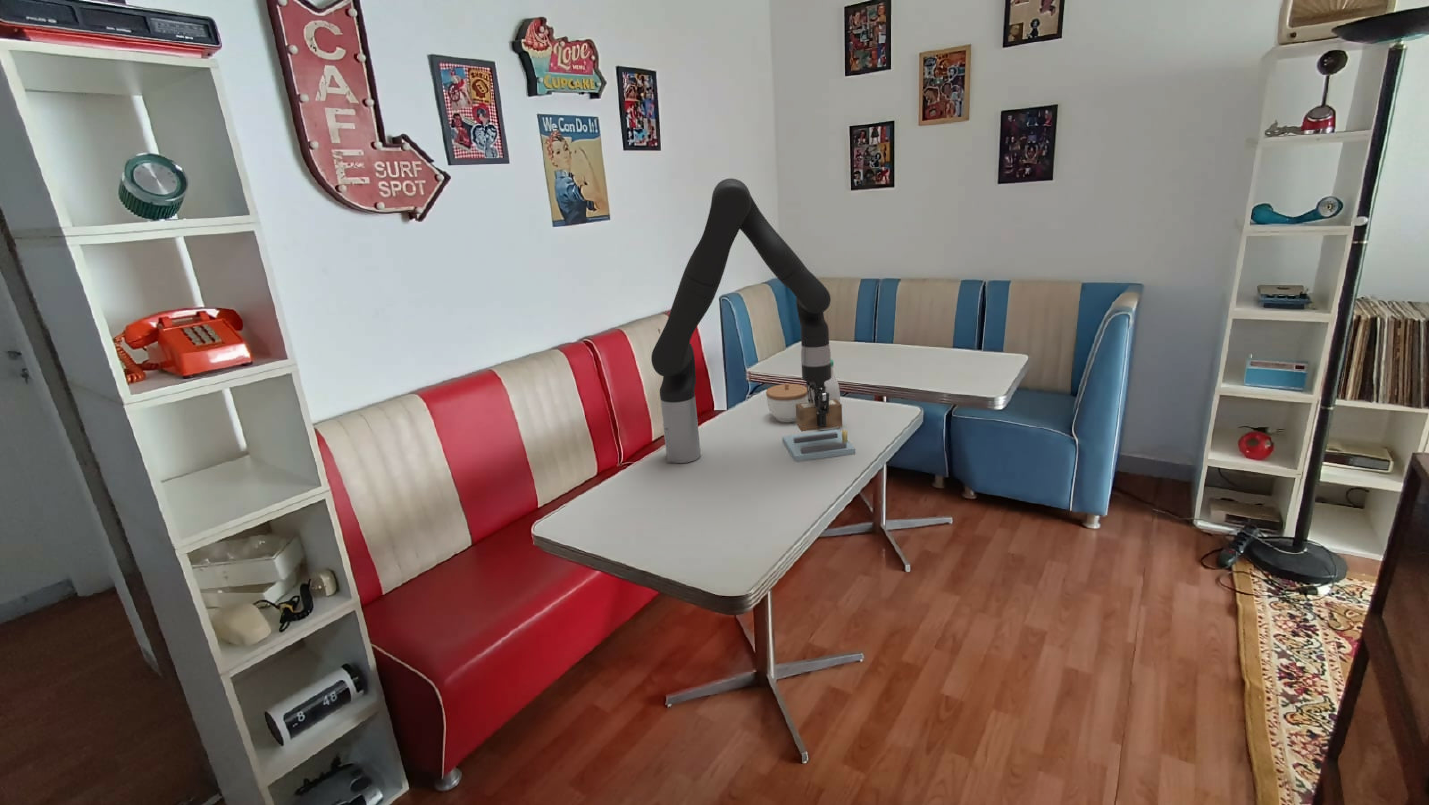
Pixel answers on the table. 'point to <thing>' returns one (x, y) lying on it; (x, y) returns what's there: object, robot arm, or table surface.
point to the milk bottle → (832, 390)
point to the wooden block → (809, 416)
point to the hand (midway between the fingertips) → (818, 423)
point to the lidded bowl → (786, 400)
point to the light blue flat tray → (818, 445)
